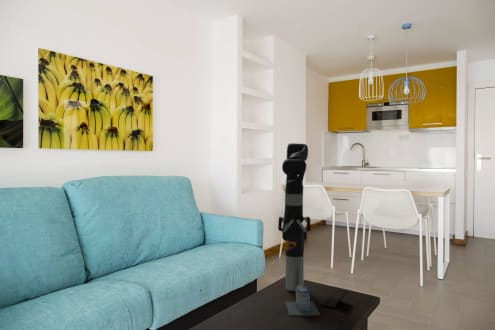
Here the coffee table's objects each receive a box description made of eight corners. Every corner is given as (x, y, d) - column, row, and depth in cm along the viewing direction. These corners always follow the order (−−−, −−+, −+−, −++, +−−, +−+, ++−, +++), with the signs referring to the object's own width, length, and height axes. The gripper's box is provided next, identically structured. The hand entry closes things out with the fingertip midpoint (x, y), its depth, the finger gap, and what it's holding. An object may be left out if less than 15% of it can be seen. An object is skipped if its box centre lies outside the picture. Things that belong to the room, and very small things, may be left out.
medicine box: (295, 304, 163) (295, 285, 163) (305, 304, 164) (305, 284, 164) (299, 311, 155) (299, 291, 155) (310, 311, 156) (310, 291, 156)
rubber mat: (285, 303, 166) (285, 301, 166) (313, 302, 167) (313, 301, 167) (289, 316, 152) (289, 314, 152) (320, 315, 153) (320, 314, 153)
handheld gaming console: (323, 295, 172) (336, 280, 169) (335, 305, 171) (348, 290, 168) (320, 307, 162) (334, 292, 159) (333, 318, 160) (347, 303, 157)
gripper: (279, 205, 157) (279, 242, 157) (312, 204, 158) (312, 242, 158) (277, 203, 165) (277, 238, 165) (308, 202, 165) (308, 238, 165)
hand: (294, 240), depth 161 cm, fingers open, 8 cm apart
